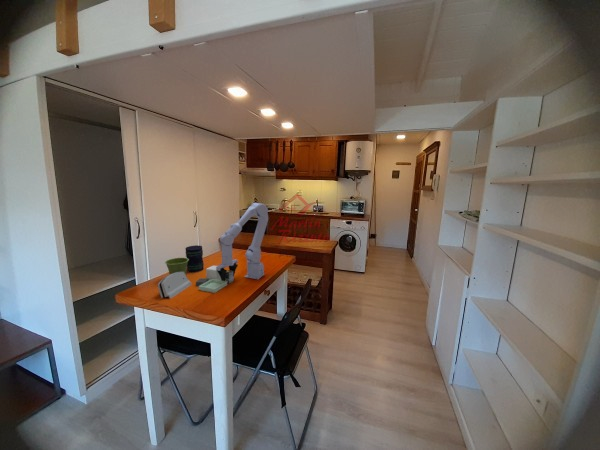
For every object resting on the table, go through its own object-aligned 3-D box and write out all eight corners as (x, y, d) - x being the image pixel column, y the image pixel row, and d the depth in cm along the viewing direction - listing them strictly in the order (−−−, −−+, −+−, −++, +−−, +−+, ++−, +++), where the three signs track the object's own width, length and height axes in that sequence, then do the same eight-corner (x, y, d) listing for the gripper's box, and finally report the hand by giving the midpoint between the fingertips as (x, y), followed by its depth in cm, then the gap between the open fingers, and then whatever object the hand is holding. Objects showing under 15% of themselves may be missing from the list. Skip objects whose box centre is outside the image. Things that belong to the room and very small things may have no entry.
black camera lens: (206, 267, 148) (205, 245, 145) (199, 272, 138) (198, 249, 136) (191, 267, 148) (190, 245, 145) (183, 272, 138) (182, 249, 136)
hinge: (170, 299, 106) (161, 279, 105) (162, 301, 107) (153, 282, 106) (192, 284, 122) (185, 267, 121) (185, 286, 123) (178, 269, 122)
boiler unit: (224, 278, 131) (223, 266, 129) (217, 282, 125) (216, 270, 124) (212, 276, 133) (211, 265, 132) (205, 280, 127) (204, 268, 126)
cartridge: (233, 280, 127) (233, 270, 126) (229, 283, 123) (228, 272, 122) (227, 279, 128) (227, 269, 127) (223, 282, 125) (222, 271, 124)
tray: (227, 284, 121) (227, 281, 121) (214, 293, 112) (214, 289, 112) (212, 282, 125) (211, 278, 124) (198, 290, 115) (198, 286, 115)
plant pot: (174, 285, 120) (173, 265, 119) (162, 280, 126) (160, 261, 124) (194, 277, 131) (193, 259, 129) (182, 273, 136) (180, 256, 134)
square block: (208, 282, 125) (208, 278, 125) (205, 286, 120) (204, 282, 120) (200, 282, 125) (199, 278, 125) (196, 286, 120) (195, 282, 120)
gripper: (222, 260, 115) (223, 284, 117) (241, 253, 128) (241, 275, 130) (212, 258, 118) (213, 282, 120) (232, 251, 131) (232, 273, 133)
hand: (227, 278), depth 125 cm, fingers open, 6 cm apart
